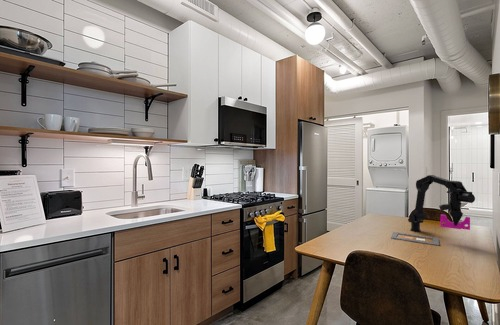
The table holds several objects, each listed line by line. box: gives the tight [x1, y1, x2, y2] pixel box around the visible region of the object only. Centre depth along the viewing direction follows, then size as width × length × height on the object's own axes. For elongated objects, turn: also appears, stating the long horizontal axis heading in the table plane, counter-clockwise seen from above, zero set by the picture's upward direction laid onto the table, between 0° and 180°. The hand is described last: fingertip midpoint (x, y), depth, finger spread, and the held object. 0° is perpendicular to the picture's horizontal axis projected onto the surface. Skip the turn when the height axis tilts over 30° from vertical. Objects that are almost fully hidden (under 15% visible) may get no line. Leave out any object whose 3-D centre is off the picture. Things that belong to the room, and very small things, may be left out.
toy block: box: [439, 213, 471, 231], centre depth 170 cm, size 15×6×8 cm, turn 52°
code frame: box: [390, 231, 440, 247], centre depth 179 cm, size 18×27×1 cm, turn 56°
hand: (454, 224), depth 169 cm, fingers closed on toy block, 6 cm apart
